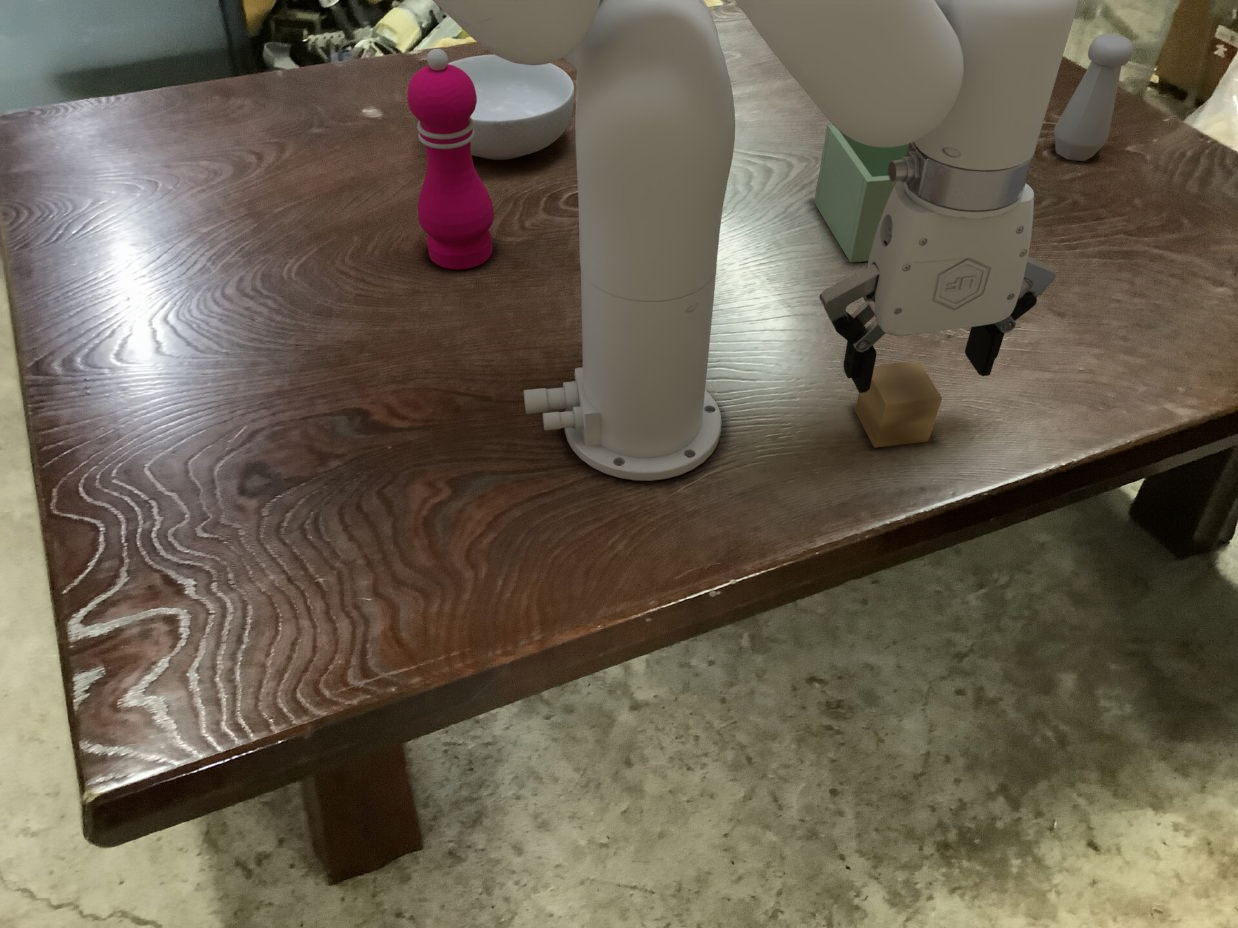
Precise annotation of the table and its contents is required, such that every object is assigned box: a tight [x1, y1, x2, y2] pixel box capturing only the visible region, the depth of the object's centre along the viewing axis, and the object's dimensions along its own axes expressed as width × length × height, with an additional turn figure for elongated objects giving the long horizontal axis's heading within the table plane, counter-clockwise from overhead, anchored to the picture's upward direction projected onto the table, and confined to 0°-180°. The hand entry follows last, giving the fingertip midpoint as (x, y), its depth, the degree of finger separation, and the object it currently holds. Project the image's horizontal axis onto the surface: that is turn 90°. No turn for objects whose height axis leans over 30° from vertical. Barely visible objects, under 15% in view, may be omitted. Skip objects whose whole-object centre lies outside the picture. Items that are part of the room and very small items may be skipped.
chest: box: [813, 123, 909, 263], centre depth 98 cm, size 15×12×9 cm
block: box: [854, 360, 943, 448], centre depth 78 cm, size 5×5×5 cm
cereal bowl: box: [448, 54, 576, 161], centre depth 111 cm, size 17×17×7 cm
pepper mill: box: [406, 48, 495, 270], centre depth 90 cm, size 7×7×20 cm
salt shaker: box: [1053, 33, 1134, 162], centre depth 108 cm, size 6×6×13 cm
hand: (917, 373), depth 76 cm, fingers open, 9 cm apart
